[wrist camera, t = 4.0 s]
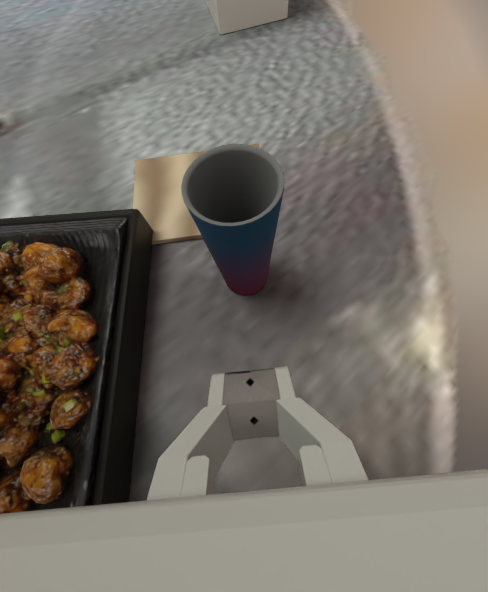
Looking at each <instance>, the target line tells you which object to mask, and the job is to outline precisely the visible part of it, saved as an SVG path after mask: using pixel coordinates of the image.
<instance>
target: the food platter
mask: <svg viewBox="0 0 488 592" xmlns="http://www.w3.org/2000/svg"><path fill="white" fill-rule="evenodd" d="M152 237H153V229H152V228H151V226H150V225H149V224H148V222H147V221H146V219H145V218H144V217H143V215H142V214H141V212H140V211H139V210H138V209H127V210H113V211H100V212H86V213H73V214H59V215H46V216H32V217H19V218H5V219H0V514H3V513H14V512H25V511H36V510H47V509H58V508H68V507H79V506H90V505H101V504H112V503H123V502H128V501H129V490H130V479H131V468H132V457H133V446H134V435H135V424H136V413H137V402H138V391H139V380H140V369H141V358H142V347H143V336H144V325H145V314H146V303H147V292H148V281H149V270H150V259H151V248H152Z"/></svg>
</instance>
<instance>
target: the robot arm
mask: <svg viewBox="0 0 488 592" xmlns="http://www.w3.org/2000/svg"><path fill="white" fill-rule="evenodd" d="M277 436H279V437H280V439H281V440H282V441H283V443H284V444H285V445H286V446H287V448H288V449H289V450H290V451H291V453H292V454H293V455H294V457H295V458H296V459H297V460H298V462H299V463H300V480H301V486H299V487H288V488H278V489H267V490H256V491H244V492H233V493H222V494H219V493H218V490H217V486H216V482H215V479H214V478H215V476H216V474H217V472H218V470H219V469H220V467H221V465H222V463H223V461H224V460H225V458H226V456H227V454H228V452H229V450H230V449H231V447H232V445H233V443H234V441H236V440H244V439H252V438H256V437H257V438H262V437H277ZM0 592H488V469H484V470H473V471H463V472H451V473H440V474H429V475H418V476H407V477H396V478H385V479H374V480H368V478H367V476H366V473H365V471H364V469H363V466H362V464H361V462H360V459H359V457H358V455H357V452H356V450H355V448H354V445H353V443H352V441H351V440H350V439H349V438H348V437H347V436H345V435H344V434H343V433H342V432H341V431H339V430H338V429H337V428H336V427H335V426H333V425H332V424H331V423H330V422H329V421H327V420H326V419H325V418H324V417H323V416H321V415H320V414H319V413H318V412H317V411H315V410H314V409H313V408H312V407H311V406H309V405H308V404H307V403H306V402H305V401H303V400H302V399H301V398H296V396H295V392H294V388H293V385H292V381H291V377H290V373H289V369H288V367H287V366H285V367H277V368H270V369H262V370H253V371H242V372H230V373H220V374H213V375H212V377H211V383H210V390H209V397H208V405H207V407H203V408H202V410H201V411H200V412H199V413H198V414H197V415H196V416H195V418H194V419H193V420H192V421H191V422H190V423H189V424H188V425H187V427H186V428H185V429H184V430H183V431H182V432H181V433H180V435H179V436H178V437H177V438H176V439H175V440H174V441H173V443H172V444H171V445H170V446H169V447H168V448H167V449H166V451H165V452H164V453H163V454H162V455H161V456H160V457H159V459H158V462H157V466H156V469H155V473H154V476H153V480H152V483H151V486H150V490H149V493H148V497H147V500H145V501H134V502H123V503H112V504H101V505H90V506H79V507H68V508H58V509H47V510H36V511H25V512H14V513H3V514H0Z"/></svg>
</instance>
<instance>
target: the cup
mask: <svg viewBox="0 0 488 592" xmlns="http://www.w3.org/2000/svg"><path fill="white" fill-rule="evenodd" d="M181 191H182V197H183V200H184V203H185V205H186V207H187V208H188V210H189V212H190V214H191V216H192V218H193V220H194V222H195V224H196V226H197V228H198V230H199V232H200V233H201V235H202V237H203V239H204V241H205V243H206V245H207V247H208V249H209V251H210V253H211V255H212V257H213V259H214V260H215V262H216V264H217V266H218V268H219V270H220V272H221V274H222V276H223V278H224V280H225V282H226V284H227V285H228V287H229V288H230V289H231V290H232V291H233V292H235V293H237V294H240V295H251V294H254V293H256V292H258V291H259V290H260V289H261V288H262V287H263V286H264V284H265V282H266V279H267V274H268V269H269V263H270V258H271V253H272V248H273V243H274V237H275V232H276V227H277V222H278V217H279V211H280V206H281V201H282V196H283V191H284V175H283V171H282V169H281V167H280V165H279V163H278V162H277V161H276V160H275V158H274V157H272V156H271V155H270V154H269V153H268V152H266V151H264V150H262V149H260V148H257V147H254V146H251V145H245V144H228V145H222V146H219V147H215V148H213V149H211V150H208V151H206V152H205V153H203V154H202V155H200V156H198V157H197V158H196V159H195V160H194V161H193V162H192V163H191V164H190V166H189V167H188V168H187V170H186V172H185V174H184V176H183V180H182V185H181Z"/></svg>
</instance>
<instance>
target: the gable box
mask: <svg viewBox="0 0 488 592" xmlns="http://www.w3.org/2000/svg"><path fill="white" fill-rule="evenodd" d="M205 1H206V3H207V6H208V8H209V10H210V13H211V15H212V17H213V20H214V22H215V25H216V27H217V29H218V32H219V34H220V35H223V34H227V33H231V32H235V31H239V30H243V29H247V28H251V27H255V26H259V25H263V24H267V23H270V22H274V21H278V20H282V19H286V18H287V17H288V3H289V0H205Z"/></svg>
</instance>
